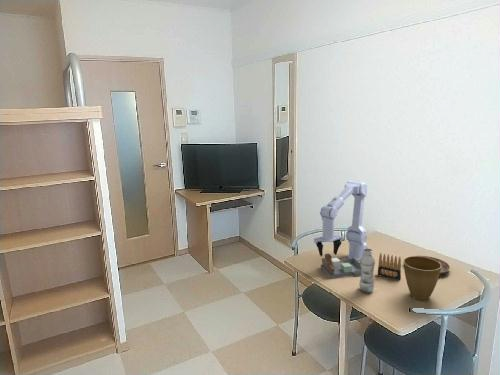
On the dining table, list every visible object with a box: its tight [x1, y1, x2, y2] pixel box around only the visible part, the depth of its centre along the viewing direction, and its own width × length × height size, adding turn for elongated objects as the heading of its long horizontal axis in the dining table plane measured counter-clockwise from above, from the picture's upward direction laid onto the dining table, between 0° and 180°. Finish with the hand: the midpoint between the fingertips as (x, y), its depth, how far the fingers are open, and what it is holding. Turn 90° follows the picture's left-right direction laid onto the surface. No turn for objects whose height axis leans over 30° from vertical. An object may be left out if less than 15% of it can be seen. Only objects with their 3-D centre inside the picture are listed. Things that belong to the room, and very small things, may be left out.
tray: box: [341, 257, 361, 277], centre depth 180 cm, size 6×14×4 cm, turn 11°
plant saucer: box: [421, 255, 451, 276], centre depth 178 cm, size 21×21×3 cm
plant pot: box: [403, 255, 442, 301], centre depth 152 cm, size 15×15×16 cm
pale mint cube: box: [341, 263, 352, 272], centre depth 176 cm, size 4×4×3 cm
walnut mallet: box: [321, 253, 334, 275], centre depth 177 cm, size 2×13×8 cm, turn 11°
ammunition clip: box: [376, 252, 402, 281], centre depth 170 cm, size 11×2×12 cm, turn 56°
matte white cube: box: [331, 257, 341, 267], centre depth 182 cm, size 4×4×3 cm
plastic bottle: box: [358, 248, 376, 293], centre depth 158 cm, size 6×7×20 cm
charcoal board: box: [320, 261, 354, 279], centre depth 179 cm, size 12×12×2 cm
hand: (328, 254), depth 176 cm, fingers open, 7 cm apart
